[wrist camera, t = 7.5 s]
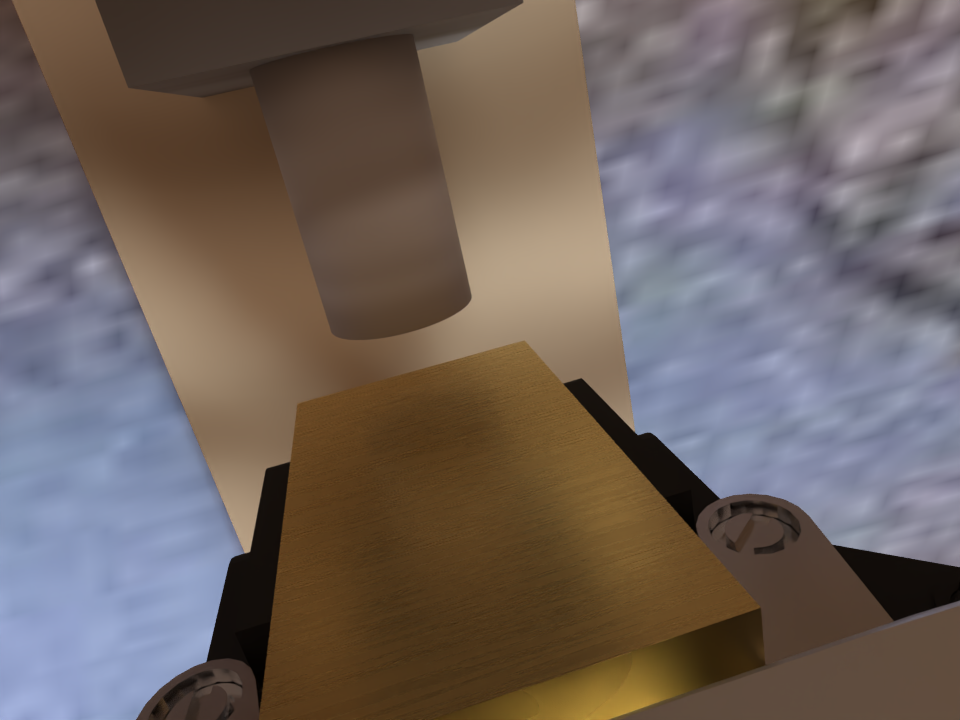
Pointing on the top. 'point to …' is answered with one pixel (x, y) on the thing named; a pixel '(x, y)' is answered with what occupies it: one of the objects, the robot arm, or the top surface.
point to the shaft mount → (337, 197)
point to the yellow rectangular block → (486, 560)
